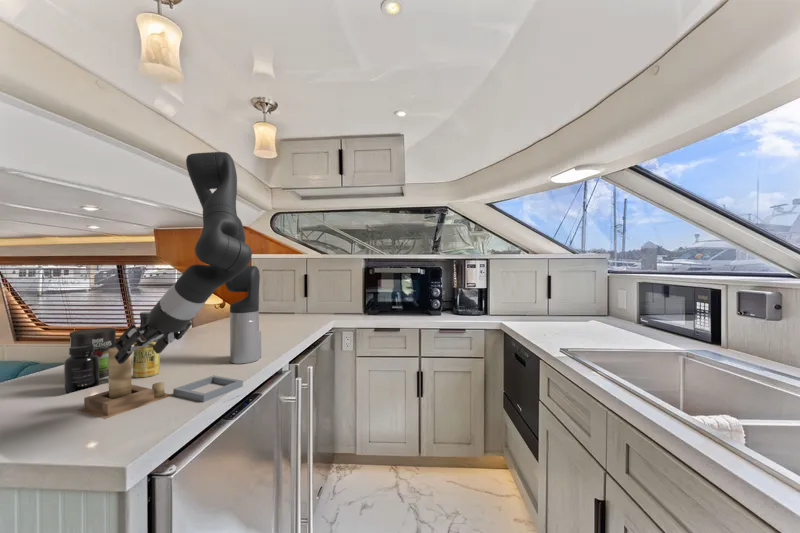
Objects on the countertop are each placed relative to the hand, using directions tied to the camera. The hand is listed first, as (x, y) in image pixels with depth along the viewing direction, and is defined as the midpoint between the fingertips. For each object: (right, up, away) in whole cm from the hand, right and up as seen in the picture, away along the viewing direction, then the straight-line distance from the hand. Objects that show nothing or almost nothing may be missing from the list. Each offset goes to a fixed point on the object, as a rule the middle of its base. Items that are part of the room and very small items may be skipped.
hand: (138, 355), depth 76 cm
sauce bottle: (-15, -13, +22) cm, 30 cm away
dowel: (-5, -12, +1) cm, 13 cm away
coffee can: (-32, -13, +25) cm, 43 cm away
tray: (+11, -13, +10) cm, 19 cm away
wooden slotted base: (-4, -13, +3) cm, 14 cm away
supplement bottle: (-26, -13, +14) cm, 33 cm away
